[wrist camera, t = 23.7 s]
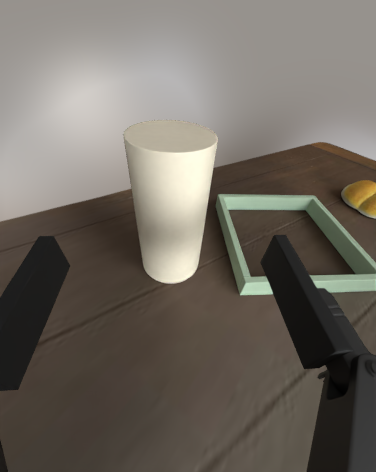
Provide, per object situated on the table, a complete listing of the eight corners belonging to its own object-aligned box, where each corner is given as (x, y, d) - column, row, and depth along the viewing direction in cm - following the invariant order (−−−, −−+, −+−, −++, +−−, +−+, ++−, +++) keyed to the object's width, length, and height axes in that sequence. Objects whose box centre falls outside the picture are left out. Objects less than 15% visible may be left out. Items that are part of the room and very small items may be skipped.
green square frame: (239, 295, 23) (245, 283, 21) (215, 206, 35) (217, 194, 33) (375, 291, 24) (391, 279, 22) (307, 207, 36) (314, 195, 34)
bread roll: (380, 227, 33) (399, 207, 30) (331, 198, 39) (344, 179, 36) (405, 215, 36) (425, 196, 33) (357, 189, 42) (370, 171, 39)
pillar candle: (140, 284, 23) (114, 150, 12) (145, 240, 28) (130, 118, 17) (201, 282, 24) (226, 154, 13) (195, 239, 29) (210, 121, 18)
